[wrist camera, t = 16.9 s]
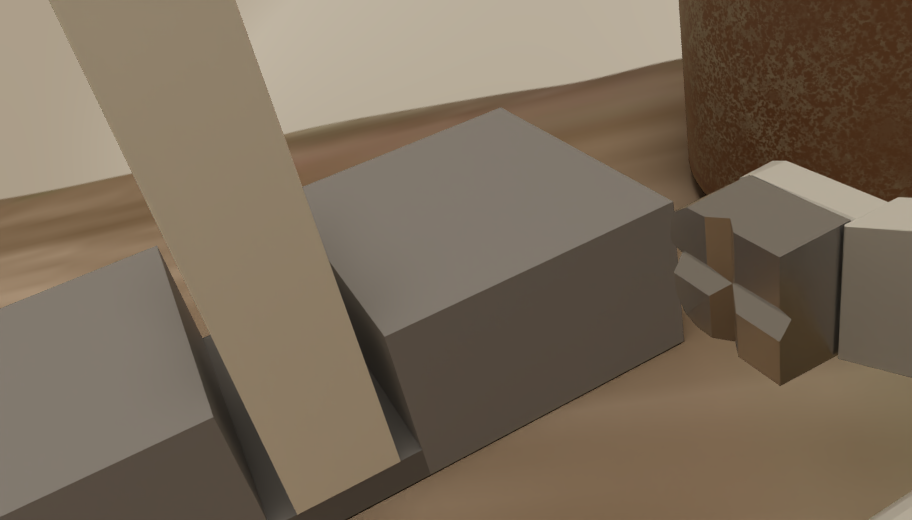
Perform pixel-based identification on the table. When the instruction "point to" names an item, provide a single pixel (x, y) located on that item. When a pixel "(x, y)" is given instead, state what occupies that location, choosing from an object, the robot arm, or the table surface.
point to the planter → (800, 90)
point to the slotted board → (374, 323)
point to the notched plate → (237, 228)
